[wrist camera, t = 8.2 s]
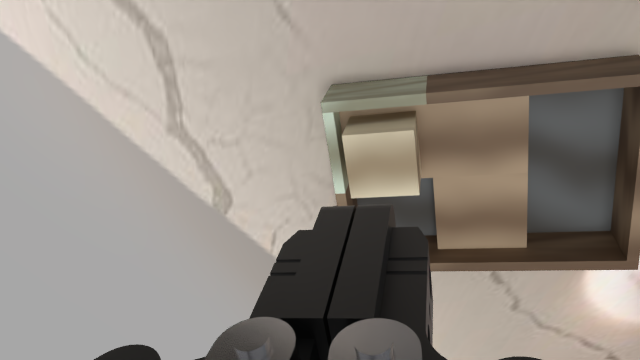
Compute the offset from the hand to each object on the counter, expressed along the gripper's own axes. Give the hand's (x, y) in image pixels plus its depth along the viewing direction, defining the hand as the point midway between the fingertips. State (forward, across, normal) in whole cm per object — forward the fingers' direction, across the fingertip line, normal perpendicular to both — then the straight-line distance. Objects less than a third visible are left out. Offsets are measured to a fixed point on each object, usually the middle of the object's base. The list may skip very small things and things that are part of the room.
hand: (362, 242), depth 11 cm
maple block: (+28, +3, +10) cm, 30 cm away
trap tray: (+31, -4, +13) cm, 34 cm away
